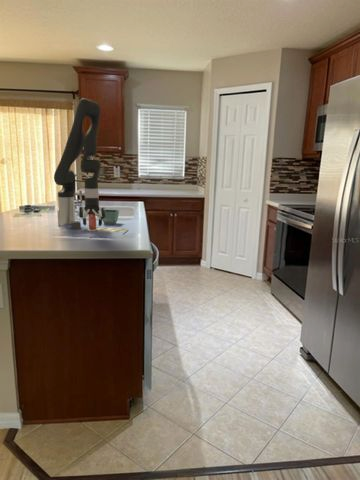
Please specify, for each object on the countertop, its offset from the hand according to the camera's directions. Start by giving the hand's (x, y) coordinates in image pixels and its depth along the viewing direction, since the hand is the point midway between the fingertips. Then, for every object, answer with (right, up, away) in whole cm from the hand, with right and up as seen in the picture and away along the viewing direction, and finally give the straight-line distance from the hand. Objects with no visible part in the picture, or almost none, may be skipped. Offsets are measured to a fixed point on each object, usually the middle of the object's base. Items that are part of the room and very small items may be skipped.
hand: (92, 225), depth 198 cm
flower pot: (+6, +1, +20) cm, 21 cm away
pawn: (0, -2, 0) cm, 2 cm away
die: (-10, -3, +2) cm, 10 cm away
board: (+8, -3, 0) cm, 9 cm away
